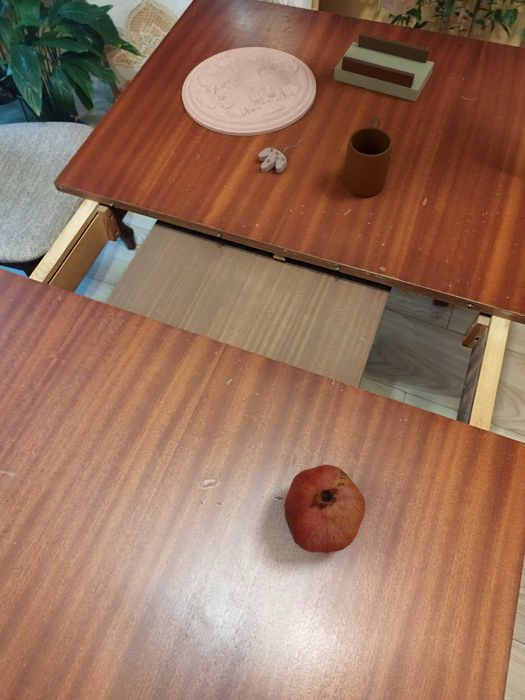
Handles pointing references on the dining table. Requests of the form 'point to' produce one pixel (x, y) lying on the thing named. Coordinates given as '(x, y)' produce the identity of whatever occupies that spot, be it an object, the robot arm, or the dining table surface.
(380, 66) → the green base with ridges
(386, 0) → the box
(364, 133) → the mug
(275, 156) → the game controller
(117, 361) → the dining table surface
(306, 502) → the fruit
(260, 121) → the ceiling medallion
